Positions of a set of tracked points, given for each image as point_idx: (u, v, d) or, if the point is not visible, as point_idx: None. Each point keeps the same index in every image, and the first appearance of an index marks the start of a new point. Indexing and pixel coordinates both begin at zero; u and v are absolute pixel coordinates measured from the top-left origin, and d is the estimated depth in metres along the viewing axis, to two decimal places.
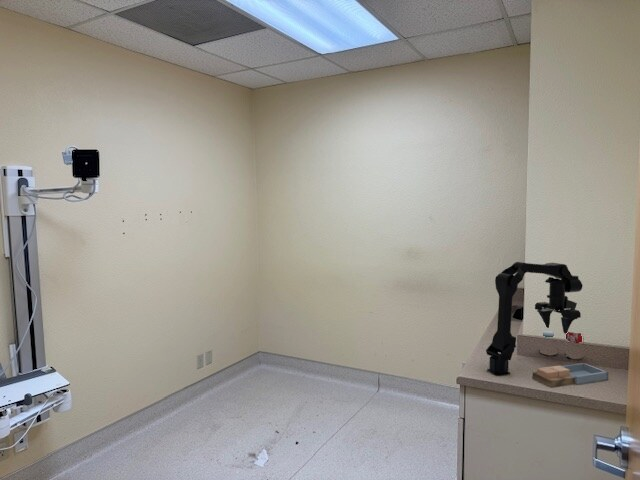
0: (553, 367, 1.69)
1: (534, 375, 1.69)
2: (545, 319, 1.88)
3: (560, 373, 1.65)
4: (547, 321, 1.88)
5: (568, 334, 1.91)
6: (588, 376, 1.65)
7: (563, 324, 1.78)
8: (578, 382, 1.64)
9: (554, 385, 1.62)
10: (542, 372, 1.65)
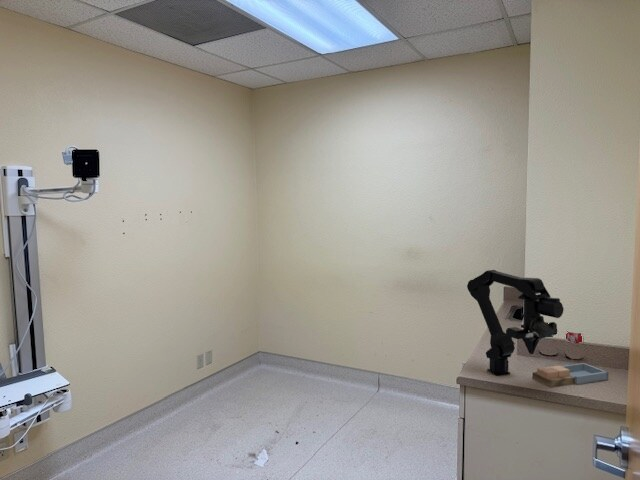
0: (553, 367, 1.69)
1: (534, 375, 1.69)
2: None
3: (560, 373, 1.65)
4: None
5: (568, 334, 1.91)
6: (588, 376, 1.65)
7: None
8: (578, 382, 1.64)
9: (554, 385, 1.62)
10: (542, 372, 1.65)
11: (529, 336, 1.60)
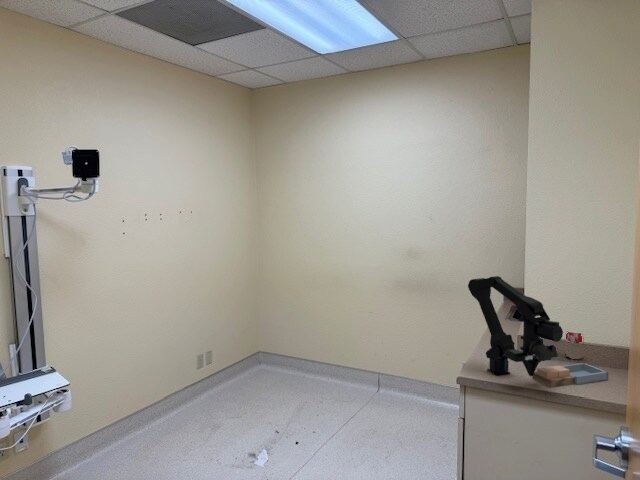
0: (553, 367, 1.69)
1: (534, 375, 1.69)
2: None
3: (560, 373, 1.65)
4: None
5: (568, 334, 1.91)
6: (588, 376, 1.65)
7: None
8: (578, 382, 1.64)
9: (554, 385, 1.62)
10: (542, 372, 1.65)
11: (528, 359, 1.61)
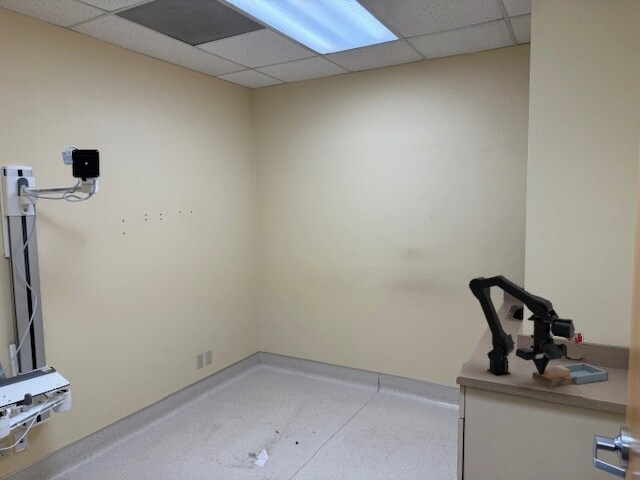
0: (553, 367, 1.69)
1: (534, 375, 1.69)
2: None
3: (560, 373, 1.65)
4: None
5: None
6: (588, 376, 1.65)
7: None
8: (578, 382, 1.64)
9: (554, 385, 1.62)
10: None
11: (539, 357, 1.62)
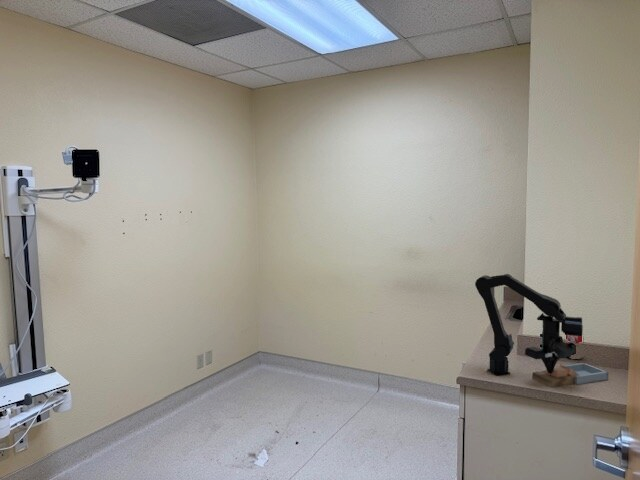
0: None
1: (534, 375, 1.69)
2: None
3: (571, 371, 1.66)
4: None
5: None
6: (588, 376, 1.65)
7: None
8: (578, 382, 1.64)
9: (554, 385, 1.62)
10: None
11: (548, 356, 1.63)
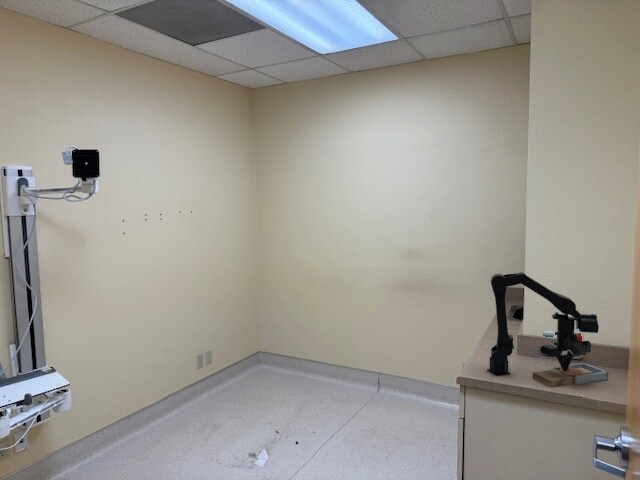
0: None
1: (534, 375, 1.69)
2: None
3: None
4: None
5: None
6: (588, 376, 1.65)
7: None
8: (578, 382, 1.64)
9: (554, 385, 1.62)
10: None
11: (563, 354, 1.65)
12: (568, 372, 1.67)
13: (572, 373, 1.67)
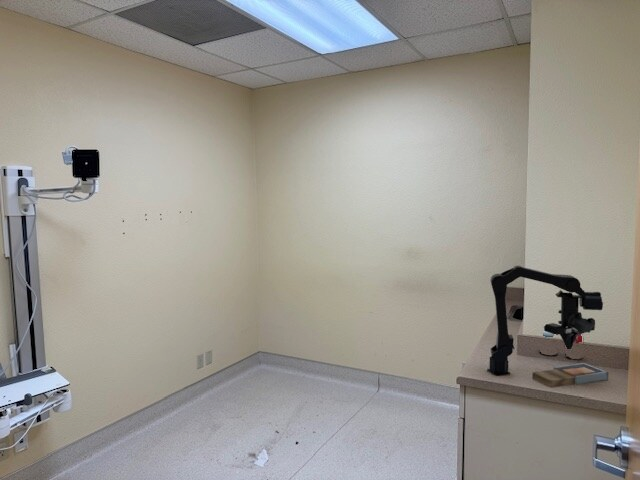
0: (578, 369, 1.72)
1: (534, 375, 1.69)
2: None
3: None
4: None
5: None
6: (588, 376, 1.65)
7: None
8: (578, 382, 1.64)
9: (554, 385, 1.62)
10: (568, 373, 1.69)
11: (567, 332, 1.65)
12: None
13: None
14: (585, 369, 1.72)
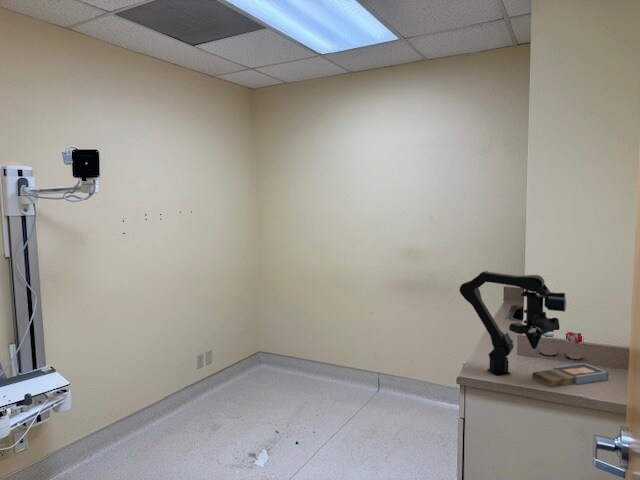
0: (578, 369, 1.72)
1: (534, 375, 1.69)
2: None
3: None
4: None
5: (568, 334, 1.91)
6: (588, 376, 1.65)
7: None
8: (578, 382, 1.64)
9: (554, 385, 1.62)
10: (568, 373, 1.69)
11: (532, 331, 1.65)
12: None
13: None
14: (585, 369, 1.72)
